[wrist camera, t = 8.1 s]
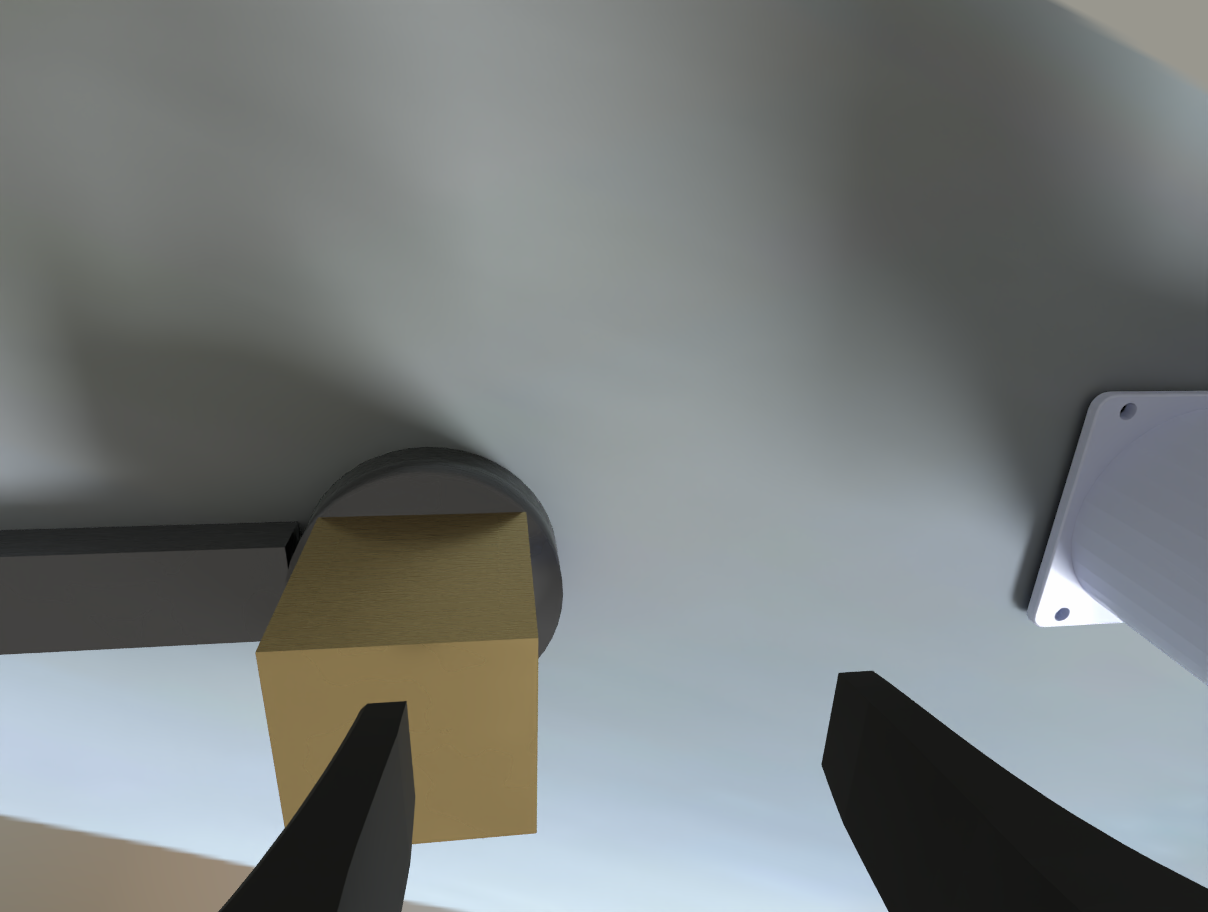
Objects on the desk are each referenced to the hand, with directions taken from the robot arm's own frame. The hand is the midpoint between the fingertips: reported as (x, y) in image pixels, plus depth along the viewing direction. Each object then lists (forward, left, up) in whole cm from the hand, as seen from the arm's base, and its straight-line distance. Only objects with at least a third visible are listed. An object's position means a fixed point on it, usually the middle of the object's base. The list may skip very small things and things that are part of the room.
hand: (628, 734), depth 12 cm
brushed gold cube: (+4, +2, -7) cm, 9 cm away
